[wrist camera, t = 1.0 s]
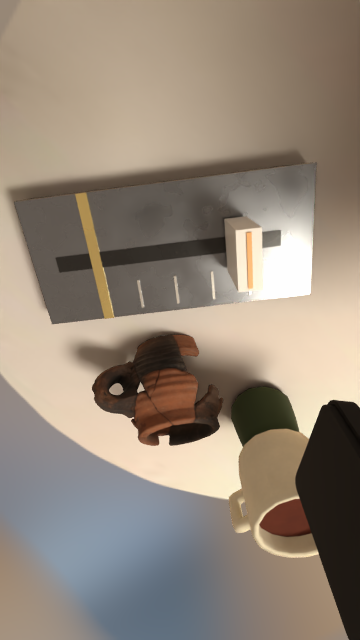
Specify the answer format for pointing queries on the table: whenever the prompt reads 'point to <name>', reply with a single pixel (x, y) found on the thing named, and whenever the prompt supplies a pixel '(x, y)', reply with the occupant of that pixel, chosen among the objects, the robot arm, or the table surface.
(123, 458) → the table surface
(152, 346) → the pottery mug
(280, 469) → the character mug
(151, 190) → the console
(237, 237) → the fader tab
